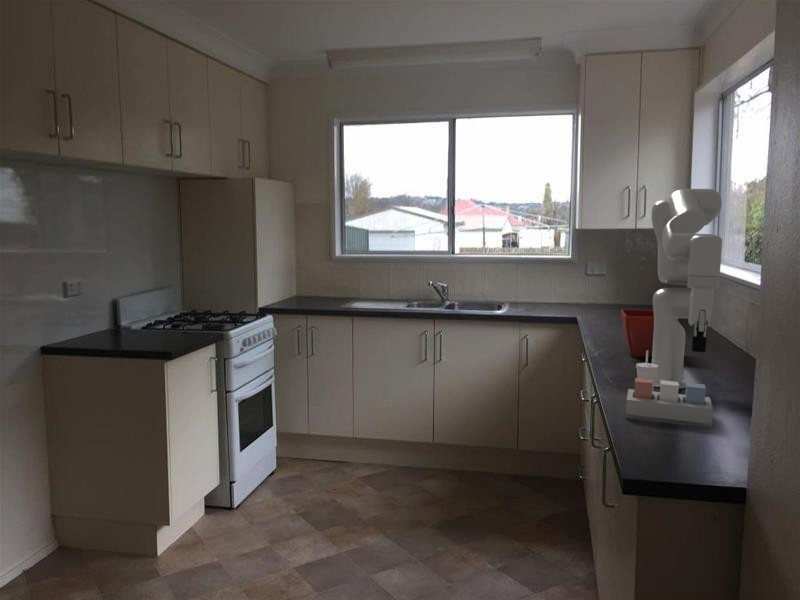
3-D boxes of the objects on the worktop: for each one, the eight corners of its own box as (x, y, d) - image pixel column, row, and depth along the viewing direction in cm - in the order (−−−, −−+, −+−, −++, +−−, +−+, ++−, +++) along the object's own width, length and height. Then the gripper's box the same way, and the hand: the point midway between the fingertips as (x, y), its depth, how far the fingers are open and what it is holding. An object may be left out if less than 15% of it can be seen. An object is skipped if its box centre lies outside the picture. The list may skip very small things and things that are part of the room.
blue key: (685, 398, 175) (686, 382, 175) (703, 400, 174) (704, 384, 173) (685, 403, 171) (686, 386, 171) (704, 405, 170) (705, 388, 169)
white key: (659, 396, 178) (660, 380, 177) (677, 397, 176) (678, 381, 176) (659, 400, 174) (660, 383, 173) (677, 402, 172) (678, 385, 171)
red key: (634, 393, 180) (635, 377, 180) (651, 395, 178) (652, 379, 178) (633, 397, 176) (634, 381, 175) (651, 399, 174) (652, 383, 174)
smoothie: (651, 393, 199) (654, 349, 198) (660, 399, 193) (663, 353, 191) (630, 393, 199) (633, 348, 197) (639, 399, 193) (641, 353, 191)
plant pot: (623, 358, 250) (625, 315, 248) (618, 348, 269) (621, 308, 267) (676, 361, 246) (678, 317, 244) (667, 351, 264) (670, 310, 262)
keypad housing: (627, 406, 185) (628, 388, 184) (708, 415, 177) (709, 397, 176) (625, 418, 174) (626, 399, 173) (711, 428, 166) (712, 408, 165)
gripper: (686, 279, 177) (682, 345, 179) (688, 284, 163) (683, 355, 165) (716, 280, 174) (712, 347, 176) (721, 285, 160) (716, 358, 162)
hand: (698, 351), depth 171 cm, fingers closed
